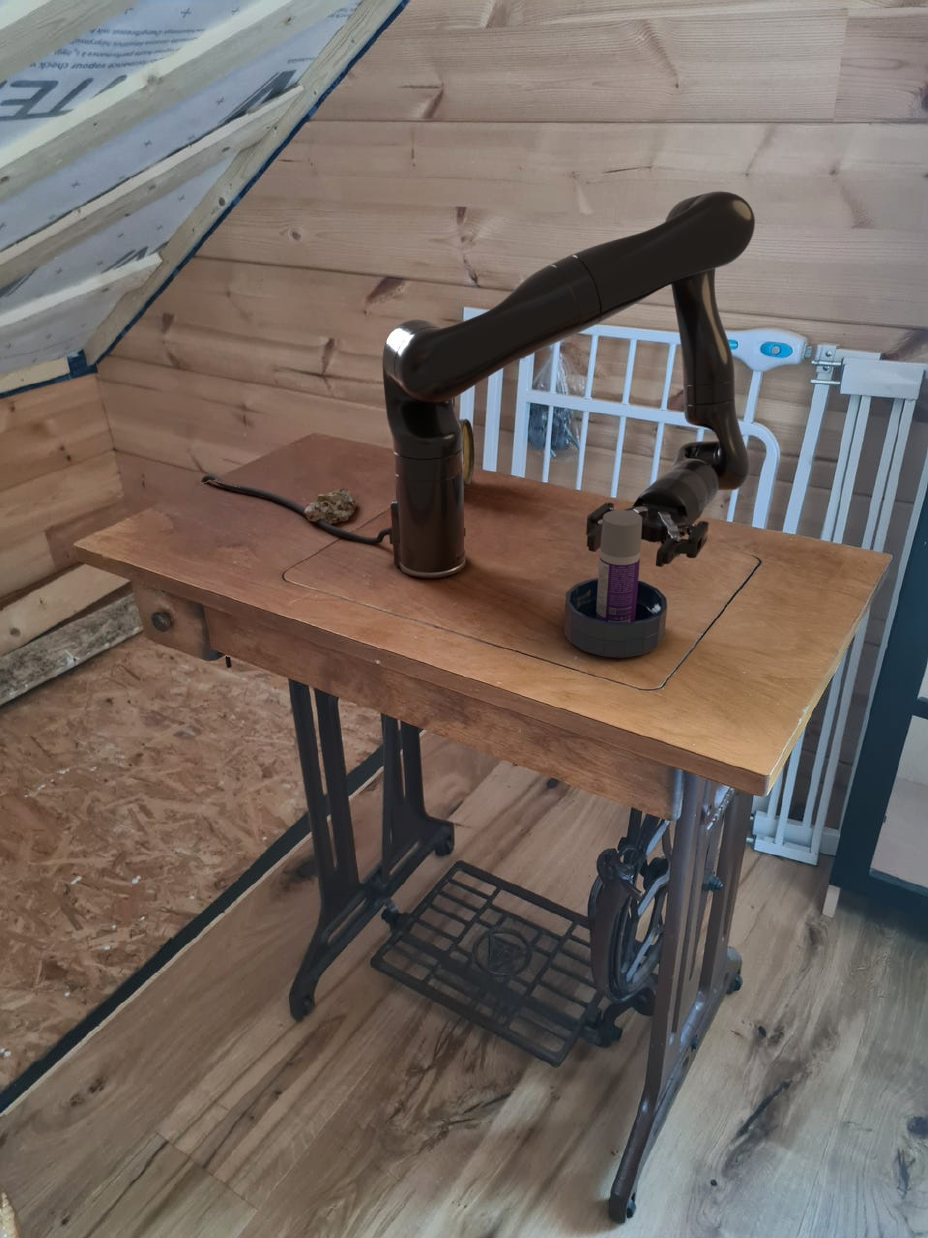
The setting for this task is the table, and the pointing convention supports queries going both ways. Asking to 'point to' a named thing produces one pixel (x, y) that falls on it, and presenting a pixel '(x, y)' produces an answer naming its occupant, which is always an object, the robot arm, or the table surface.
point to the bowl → (614, 635)
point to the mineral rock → (331, 507)
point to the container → (619, 566)
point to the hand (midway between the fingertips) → (624, 551)
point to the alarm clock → (467, 449)
